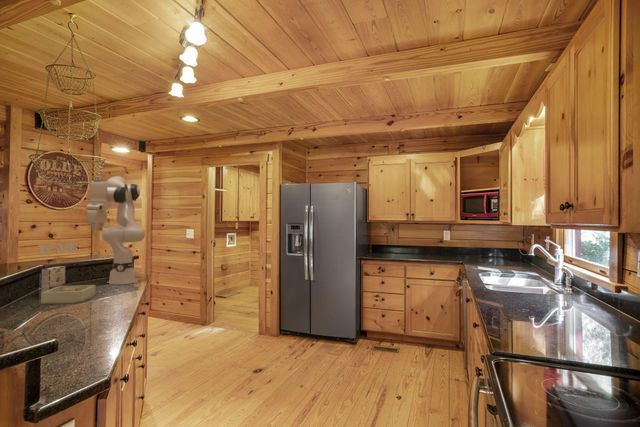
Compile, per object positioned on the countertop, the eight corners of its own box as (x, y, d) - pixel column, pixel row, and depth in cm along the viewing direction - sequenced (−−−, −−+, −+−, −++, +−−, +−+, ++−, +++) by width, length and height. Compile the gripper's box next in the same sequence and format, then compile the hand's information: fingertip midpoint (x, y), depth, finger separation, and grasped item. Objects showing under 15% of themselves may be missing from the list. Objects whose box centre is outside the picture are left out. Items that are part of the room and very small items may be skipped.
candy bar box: (56, 294, 190) (58, 266, 191) (65, 294, 190) (66, 266, 191) (40, 299, 179) (41, 268, 180) (49, 299, 179) (50, 268, 179)
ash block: (65, 297, 180) (65, 288, 180) (78, 296, 181) (78, 287, 181) (61, 299, 175) (61, 289, 175) (74, 298, 177) (74, 289, 177)
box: (58, 296, 184) (58, 286, 185) (95, 295, 189) (95, 284, 189) (40, 304, 167) (41, 292, 167) (81, 302, 172) (82, 291, 172)
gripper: (98, 207, 202) (98, 230, 202) (84, 206, 183) (83, 231, 182) (110, 207, 204) (109, 230, 204) (97, 206, 184) (96, 231, 184)
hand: (97, 230), depth 193 cm, fingers open, 8 cm apart
